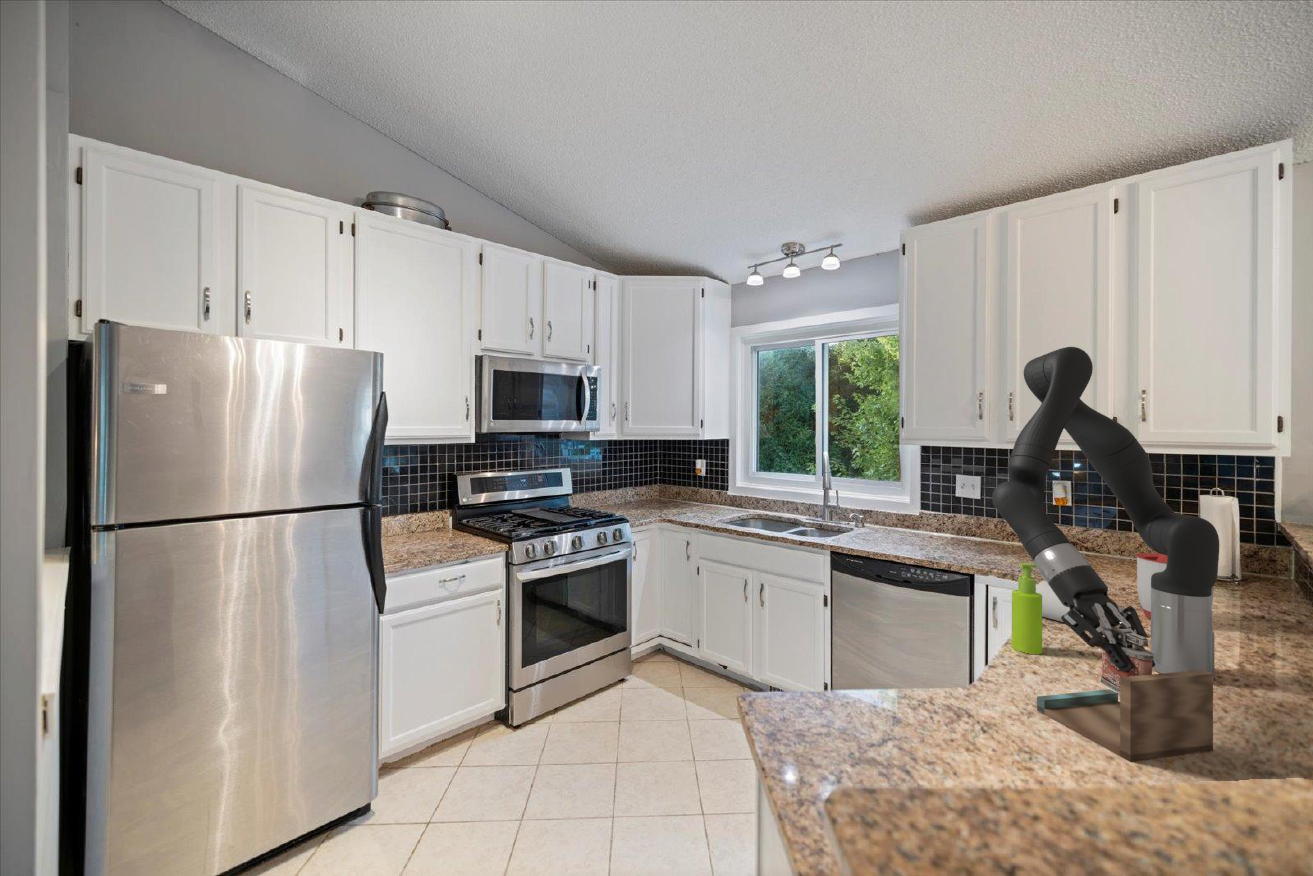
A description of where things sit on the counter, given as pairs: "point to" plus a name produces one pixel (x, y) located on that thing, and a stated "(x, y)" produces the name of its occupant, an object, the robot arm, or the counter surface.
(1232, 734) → the counter surface
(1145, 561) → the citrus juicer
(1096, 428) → the robot arm
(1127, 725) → the wall holder
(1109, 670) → the lighter
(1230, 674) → the counter surface
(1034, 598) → the soap dispenser
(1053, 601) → the toilet paper
